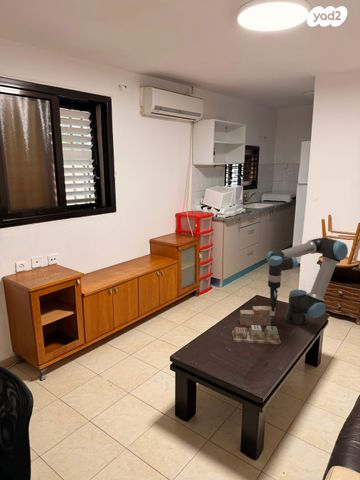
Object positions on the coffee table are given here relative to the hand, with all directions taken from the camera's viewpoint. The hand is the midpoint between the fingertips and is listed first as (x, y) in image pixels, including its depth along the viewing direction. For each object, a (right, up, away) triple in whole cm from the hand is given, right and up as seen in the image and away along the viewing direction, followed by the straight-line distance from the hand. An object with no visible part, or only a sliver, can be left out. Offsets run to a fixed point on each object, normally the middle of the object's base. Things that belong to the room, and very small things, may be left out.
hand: (272, 315), depth 210 cm
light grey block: (0, -13, +3) cm, 13 cm away
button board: (-10, -16, +5) cm, 20 cm away
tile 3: (-19, -15, +5) cm, 25 cm away
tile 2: (-10, -12, +4) cm, 16 cm away
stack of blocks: (-6, -12, +24) cm, 28 cm away
